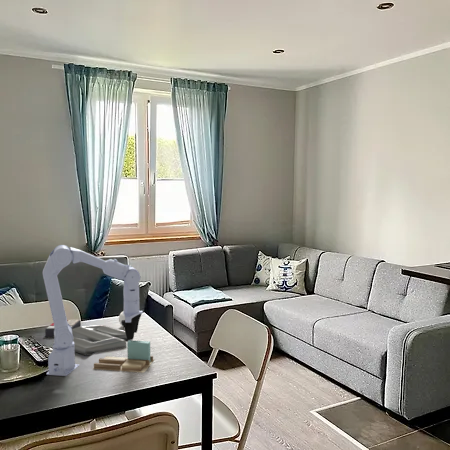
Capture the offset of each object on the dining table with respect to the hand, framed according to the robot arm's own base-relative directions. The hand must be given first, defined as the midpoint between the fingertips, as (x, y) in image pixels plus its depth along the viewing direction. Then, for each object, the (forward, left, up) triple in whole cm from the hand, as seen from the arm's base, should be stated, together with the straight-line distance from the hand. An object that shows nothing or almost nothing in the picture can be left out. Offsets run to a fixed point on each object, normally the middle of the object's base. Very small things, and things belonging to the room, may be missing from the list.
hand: (132, 335), depth 174 cm
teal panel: (-3, -4, -9) cm, 10 cm away
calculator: (+28, +43, -10) cm, 52 cm away
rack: (-6, +1, -10) cm, 11 cm away
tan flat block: (-8, -4, -9) cm, 13 cm away
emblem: (+15, +21, -10) cm, 28 cm away
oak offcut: (-8, -4, -8) cm, 12 cm away
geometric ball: (+39, +17, -10) cm, 44 cm away
